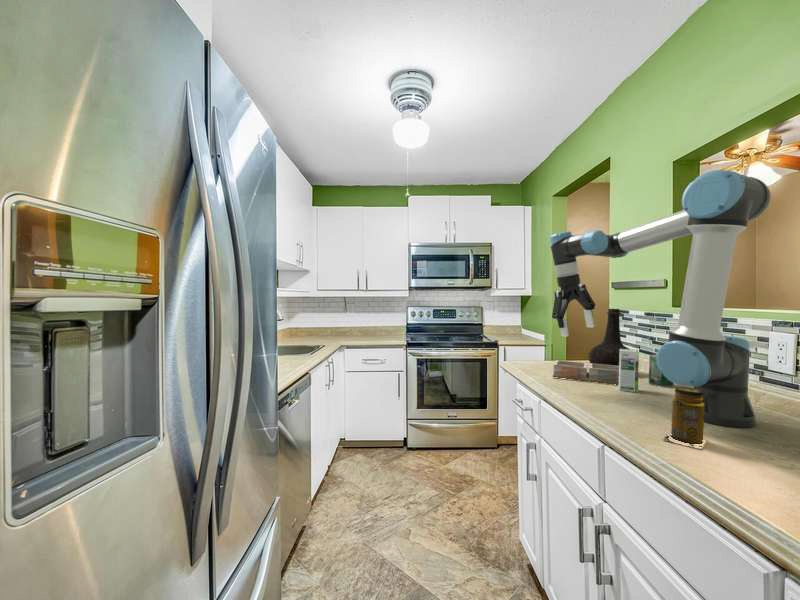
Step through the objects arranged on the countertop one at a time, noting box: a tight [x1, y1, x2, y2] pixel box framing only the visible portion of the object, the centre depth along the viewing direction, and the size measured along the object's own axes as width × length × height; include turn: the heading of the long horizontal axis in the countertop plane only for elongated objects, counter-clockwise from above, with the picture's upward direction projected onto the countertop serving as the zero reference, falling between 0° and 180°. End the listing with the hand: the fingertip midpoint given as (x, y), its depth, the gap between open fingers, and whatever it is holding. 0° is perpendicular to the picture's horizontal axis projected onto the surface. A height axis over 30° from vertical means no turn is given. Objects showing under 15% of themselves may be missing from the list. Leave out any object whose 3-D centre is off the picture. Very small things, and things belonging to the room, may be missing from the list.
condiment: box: [662, 386, 708, 447], centre depth 90 cm, size 7×8×12 cm
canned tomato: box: [648, 354, 674, 389], centre depth 146 cm, size 8×8×11 cm
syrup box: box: [618, 348, 640, 393], centre depth 137 cm, size 6×6×14 cm
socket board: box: [552, 359, 619, 386], centre depth 155 cm, size 15×25×5 cm, turn 63°
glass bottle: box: [588, 308, 630, 366], centre depth 167 cm, size 18×18×28 cm
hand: (578, 331), depth 141 cm, fingers open, 13 cm apart
